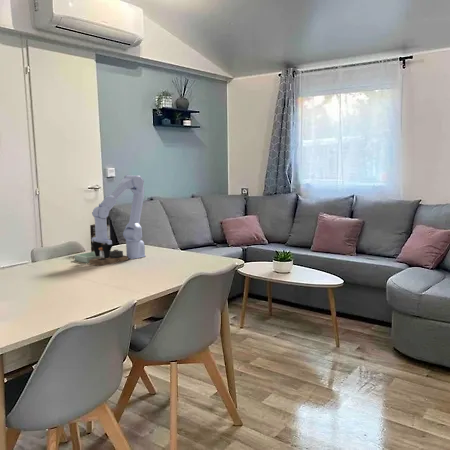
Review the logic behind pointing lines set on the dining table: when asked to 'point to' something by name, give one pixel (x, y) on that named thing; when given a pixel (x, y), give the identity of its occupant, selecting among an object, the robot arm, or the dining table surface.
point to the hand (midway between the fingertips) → (102, 256)
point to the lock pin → (101, 253)
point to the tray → (86, 257)
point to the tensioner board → (110, 258)
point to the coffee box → (92, 230)
